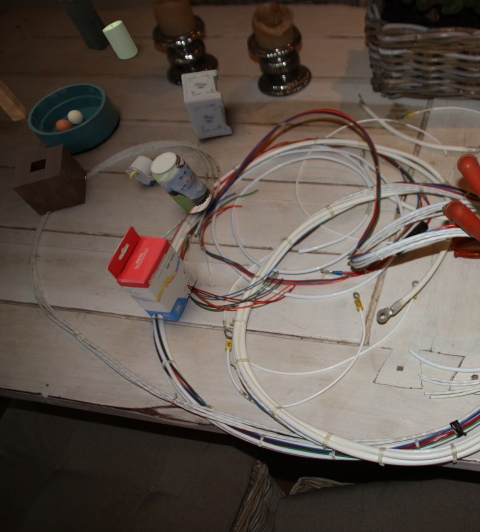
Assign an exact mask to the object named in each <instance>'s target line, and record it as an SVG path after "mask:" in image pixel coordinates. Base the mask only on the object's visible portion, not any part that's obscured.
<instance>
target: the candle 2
mask: <svg viewBox="0 0 480 532" xmlns="http://www.w3.org/2000/svg"><path fill="white" fill-rule="evenodd" d="M103 32H104V34H105V36H106V37H107V39H108V41H109V42H110V43H109V44H110V46H111V48H112V50H113V51H114V52H115V54H116V55H117V58H118V59H120V60H130V59H132V58H134V57H136V55H138V53H139V50H138V47H137V45H136V44H135V42H134V40H133V39H132V37H131V35H130V32H129V31H128V29H127V28H126V26H125V24H124V23H123V21H122V20H116V21H114V22H112V23H110V24H108V25H107V26H106V28H104V30H103Z"/></svg>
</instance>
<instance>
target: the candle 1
mask: <svg viewBox="0 0 480 532" xmlns="http://www.w3.org/2000/svg"><path fill="white" fill-rule="evenodd" d="M58 1H59V4H60V5H61V6H62V8H63V9H64V11H65V13H66V14H67V15H68V17H69V19H70V21H71V22H72V23H73V25H74V27H75V28H76V29H77V31H78V33H79V34H80V36H81V38H82V39H83V41H84V43H85V44H86V45H87V47H88V48H89V49H91V50H99V51H101V50H105V49H106V48H107V46H108V45H109V44H110V42H109V41H108V39H107V37H106V36H105V34H104V32H103V30H104V28H106V27H107V26H106V24H105V23H104V22H103V20H102V18H101V16H100V14H99V13H98V11H97V10H96V8H95V6H94V5H93V3H92V1H91V0H58Z"/></svg>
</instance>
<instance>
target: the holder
mask: <svg viewBox="0 0 480 532" xmlns="http://www.w3.org/2000/svg"><path fill="white" fill-rule="evenodd" d="M81 165H82V164H80V163H79V162H78V160H77V159H76V158H75V157H74V155H73V153H70V152H69V151H68V150H67V148H66V147H65V146H64V145H63V144H61V145H57V146H54V147H50V148H47V147H45V148H43V149H39V150H35V151H32V152H28V153H24V154H21V155H17V156H16V161H15V167H14V172H13V178H12V184H11V189H12V190H13V191H14V192H15V193H16V194H17V195H18V196H19V197H20V198H21V199H22V200H23V201H24V202H25V203H26V204H27V205H28V206H29V207H30V208H31V209H32V210H34V212H35V213H37V215H39V216H43V215H47V214H46V213H47V212H49V211H50V212H51V213H55V212H58V211H62V210H65V209H69V208H73V207H76V206H79V205H83V204H85V203H86V191H87V190H86V188H87V178H86V179H85V176H86V177H87V171H86V170H85V169H84V168H83V166H81Z"/></svg>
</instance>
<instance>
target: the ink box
mask: <svg viewBox="0 0 480 532" xmlns="http://www.w3.org/2000/svg"><path fill="white" fill-rule="evenodd" d="M126 246H127V247H126ZM125 247H126V249H125ZM123 249H125V250H124V252H123V254H122V250H123ZM121 254H122V256H121ZM120 256H121V258H120ZM106 271H108V273H109V274H110V275H111V276H112V277H113V278H114V279H115V282H116V283H117V284H118V285H119V286H120V287H121V288H122V289H123V290H124V291H125V293H127V294H128V295H129V296H130V297H131V298H132V299H133V300H134V301H135V303H137V304H138V306H140V307H141V308H142V309H143V310H144V311H145V312H146V313H147V314H148V316H150V317H151V318H152V316H153V315H154V314H158V315H161V316H163V318H164V319H163V320H166V319H169V320H168V321H179V320H180V317H181V316H182V313H183V310H184V309H185V306H186V304H187V302H188V300H189V298H188V296H189V297H190V295H188V294H189V292H190V291H189V290H188V286H187V285H190V286H193V284H194V283H195V284H196V282H195V280H196V279H197V278H196V276H195V275H194V274H193V272H192V271H191V269H190V268H189V267H188V265H187V264H186V262H184V260H183V259H182V257H181V255H179V253H178V252H177V251H176V249H175V248H174V246H172V244H171V243H170V241H169V240H168V238H165V237H159V236H158V237H157V236H145V235H141V236H140V235H139V233H138V232H137V231H136V229H135V227H134V226H133V225H130V226H129V227H128V228H127V230H126V232H125V234H124V236H123V237H122V239H121V240H120V242H119V244H118V245H117V247H116V249H115V251H114V253H113V254H112V256H111V258H110V260H109V262H108V264H107V265H106ZM196 281H197V280H196ZM195 284H194V285H195ZM187 299H188V300H187ZM183 308H184V309H183Z"/></svg>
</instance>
